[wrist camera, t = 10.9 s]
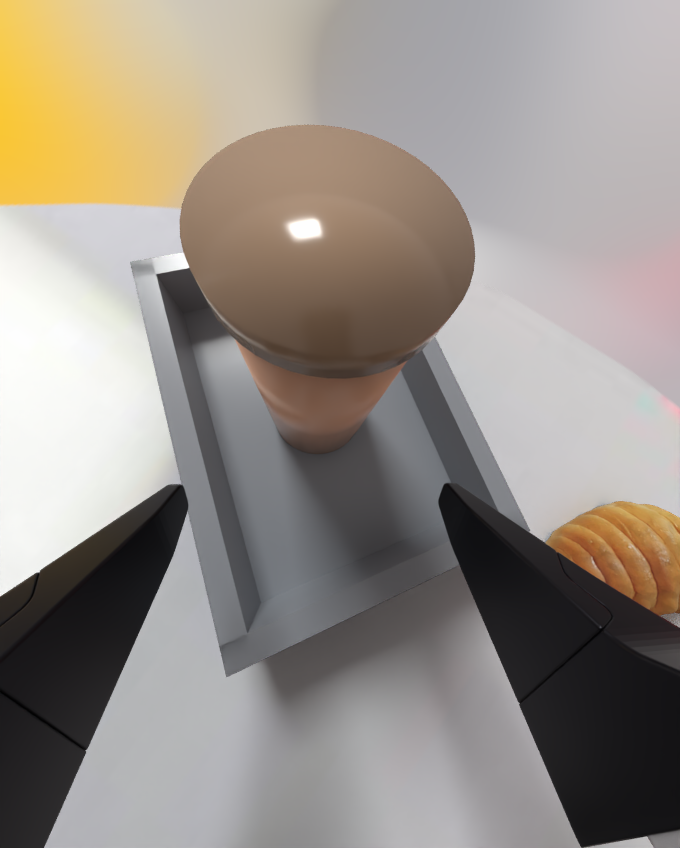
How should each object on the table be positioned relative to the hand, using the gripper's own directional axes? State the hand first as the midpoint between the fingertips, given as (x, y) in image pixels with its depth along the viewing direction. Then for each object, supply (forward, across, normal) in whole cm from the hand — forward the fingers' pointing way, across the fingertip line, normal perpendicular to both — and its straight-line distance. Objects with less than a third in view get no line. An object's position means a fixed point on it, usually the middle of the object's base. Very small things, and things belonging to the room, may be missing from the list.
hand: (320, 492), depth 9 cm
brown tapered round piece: (+10, 0, +2) cm, 10 cm away
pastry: (+3, -21, +10) cm, 23 cm away
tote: (+10, 0, +2) cm, 11 cm away
